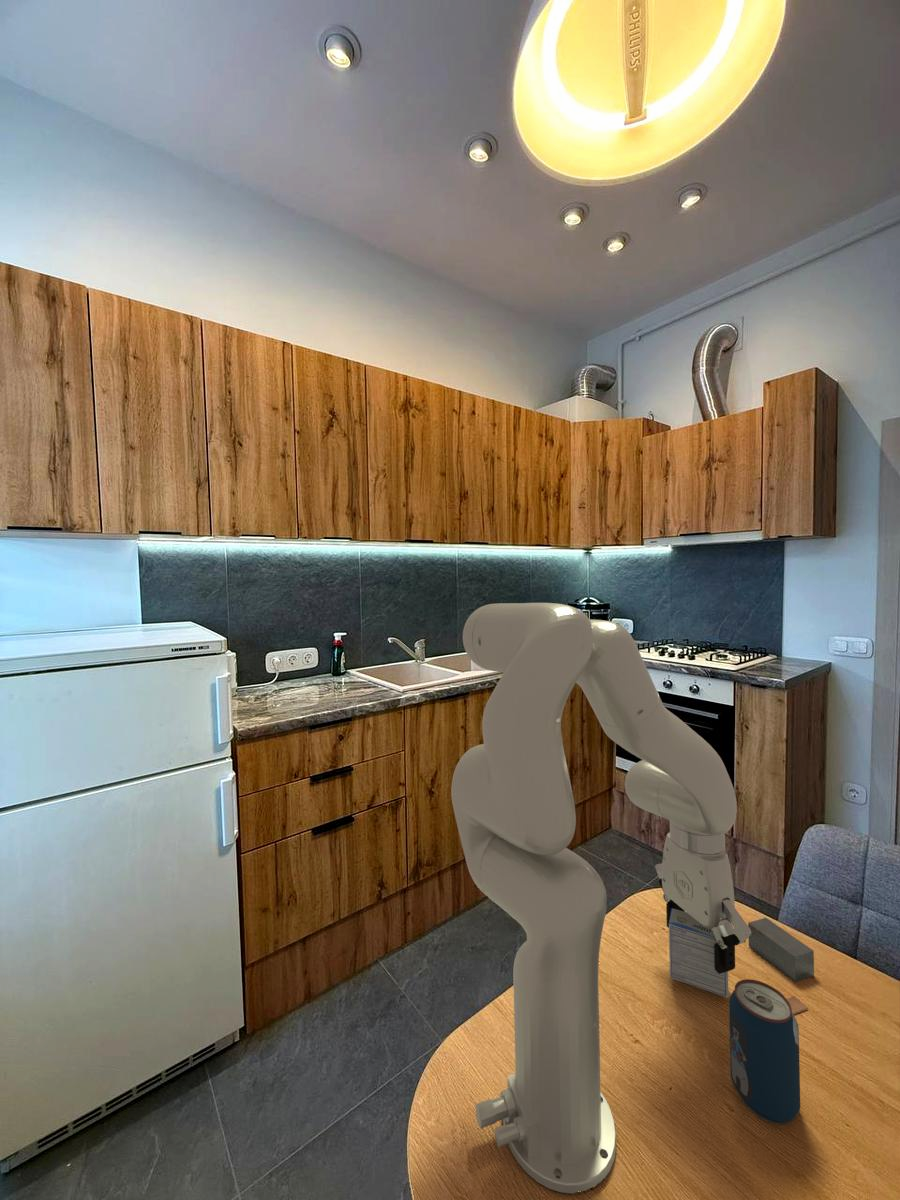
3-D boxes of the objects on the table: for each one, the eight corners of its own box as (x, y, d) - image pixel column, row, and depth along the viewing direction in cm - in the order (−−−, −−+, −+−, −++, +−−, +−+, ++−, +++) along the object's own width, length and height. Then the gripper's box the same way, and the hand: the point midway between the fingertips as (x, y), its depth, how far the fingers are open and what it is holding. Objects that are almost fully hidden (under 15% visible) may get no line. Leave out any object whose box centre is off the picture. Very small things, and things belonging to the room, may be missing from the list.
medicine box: (728, 978, 71) (727, 922, 71) (728, 1000, 67) (727, 941, 68) (671, 959, 75) (670, 906, 75) (669, 979, 71) (668, 923, 71)
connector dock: (766, 1025, 65) (765, 996, 65) (678, 944, 80) (678, 921, 80) (842, 996, 69) (841, 969, 69) (745, 925, 84) (745, 903, 84)
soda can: (808, 1102, 55) (806, 1001, 55) (789, 1146, 51) (787, 1037, 51) (743, 1057, 60) (741, 966, 60) (721, 1093, 56) (719, 995, 56)
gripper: (638, 814, 79) (640, 916, 79) (726, 871, 62) (728, 1000, 62) (674, 807, 81) (676, 906, 81) (768, 861, 64) (770, 985, 64)
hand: (698, 946), depth 71 cm, fingers closed on medicine box, 8 cm apart
